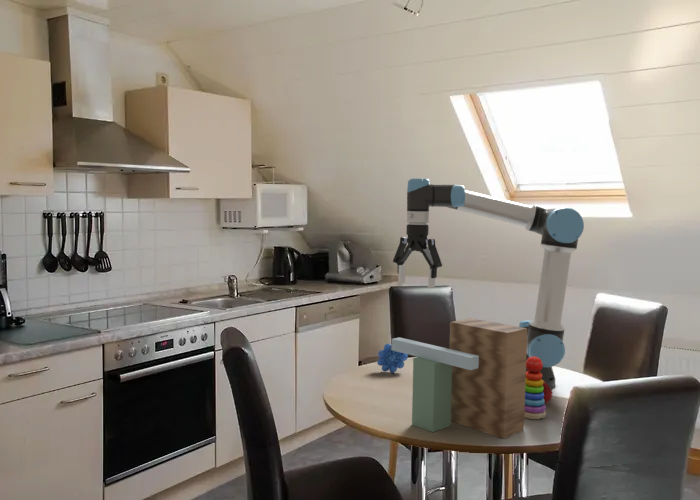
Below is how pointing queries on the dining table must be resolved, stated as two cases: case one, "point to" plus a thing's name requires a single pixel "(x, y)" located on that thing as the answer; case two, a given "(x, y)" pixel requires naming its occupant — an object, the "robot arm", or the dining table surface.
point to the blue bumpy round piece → (391, 359)
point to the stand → (489, 377)
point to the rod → (436, 353)
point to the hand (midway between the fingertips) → (416, 285)
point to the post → (431, 394)
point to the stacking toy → (534, 390)
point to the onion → (547, 392)
